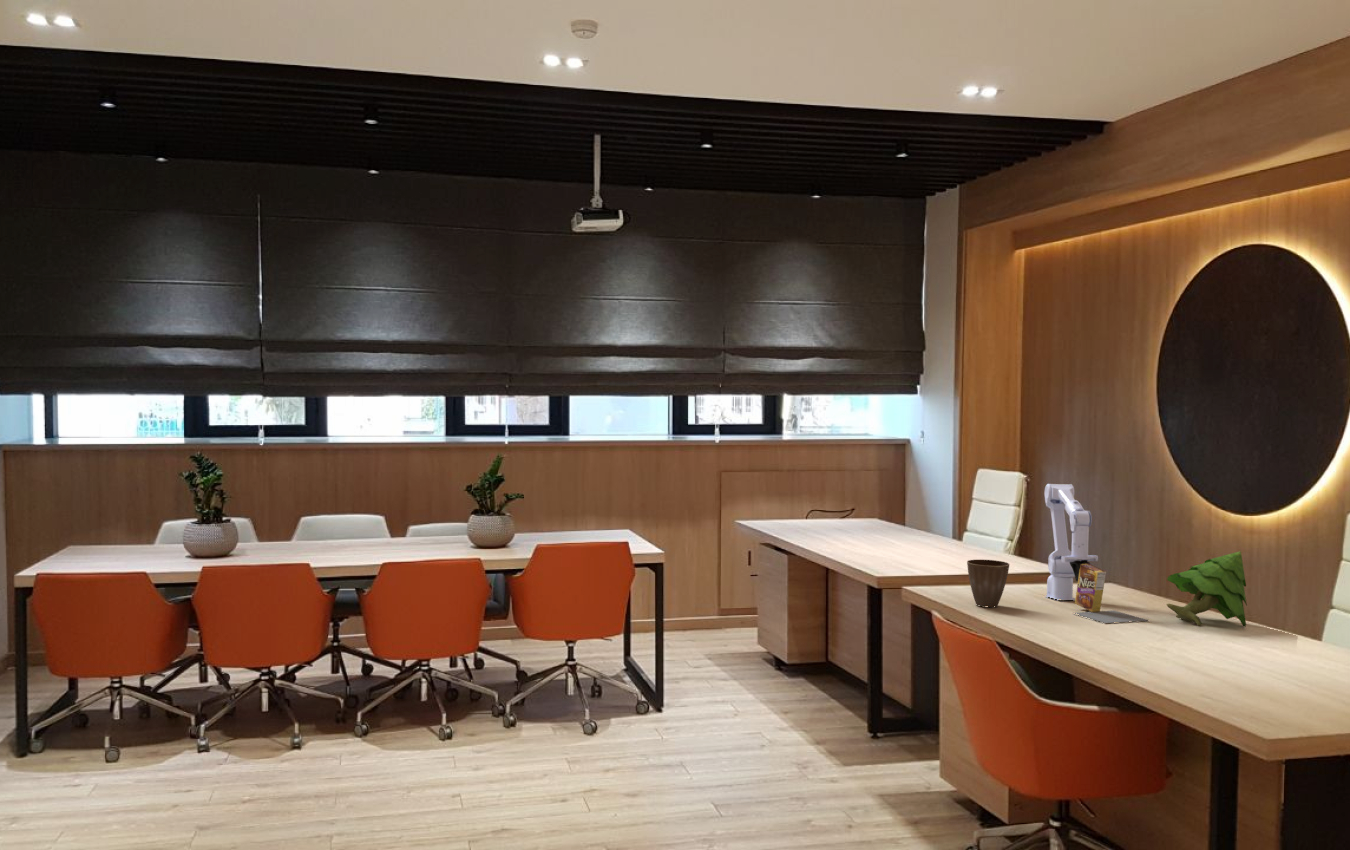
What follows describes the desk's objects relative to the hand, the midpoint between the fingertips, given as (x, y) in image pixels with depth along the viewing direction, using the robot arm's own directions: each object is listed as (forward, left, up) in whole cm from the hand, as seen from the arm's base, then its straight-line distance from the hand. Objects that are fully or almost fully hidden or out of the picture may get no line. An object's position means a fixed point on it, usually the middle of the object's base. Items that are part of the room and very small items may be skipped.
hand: (1079, 581), depth 390 cm
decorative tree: (+33, +25, -10) cm, 43 cm away
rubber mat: (+16, 0, -10) cm, 19 cm away
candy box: (+4, 0, -9) cm, 10 cm away
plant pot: (-13, -30, -10) cm, 34 cm away
